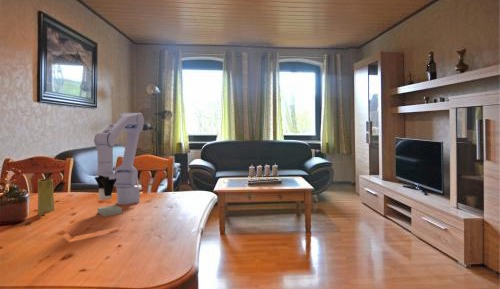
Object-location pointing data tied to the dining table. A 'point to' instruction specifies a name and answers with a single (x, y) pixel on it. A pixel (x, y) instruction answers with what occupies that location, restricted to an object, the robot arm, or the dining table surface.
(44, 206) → the vase
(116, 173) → the robot arm
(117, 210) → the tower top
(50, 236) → the dining table surface
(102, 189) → the white rounded dome
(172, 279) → the dining table surface
